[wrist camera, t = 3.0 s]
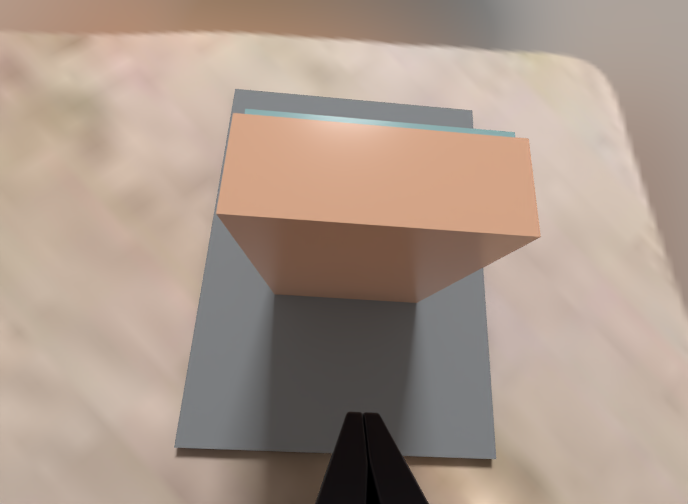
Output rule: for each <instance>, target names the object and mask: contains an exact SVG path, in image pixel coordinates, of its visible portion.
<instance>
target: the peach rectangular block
mask: <svg viewBox="0 0 688 504" xmlns="http://www.w3.org/2000/svg"><path fill="white" fill-rule="evenodd" d="M216 214H217V216H218V217H219V218H220V220H221V221H222V223H223V224H224V225H225V227H226V228H227V229H228V231H229V232H230V234H231V235H232V236H233V238H234V239H235V240H236V242H237V243H238V245H239V246H240V247H241V249H242V250H243V252H244V253H245V254H246V256H247V257H248V258H249V260H250V261H251V263H252V264H253V265H254V267H255V268H256V269H257V271H258V272H259V274H260V275H261V276H262V278H263V279H264V280H265V282H266V283H267V285H268V286H269V287H270V289H271V290H272V292H273V293H274V294H277V295H294V296H310V297H327V298H344V299H360V300H377V301H394V302H410V303H418V302H419V301H421V300H423V299H425V298H427V297H429V296H431V295H433V294H434V293H436V292H438V291H440V290H442V289H444V288H446V287H448V286H449V285H451V284H453V283H455V282H457V281H459V280H461V279H463V278H464V277H466V276H468V275H470V274H472V273H474V272H476V271H478V270H479V269H481V268H483V267H485V266H487V265H489V264H491V263H493V262H494V261H496V260H498V259H500V258H502V257H504V256H506V255H508V254H510V253H511V252H513V251H515V250H517V249H519V248H521V247H523V246H525V245H526V244H528V243H530V242H532V241H534V240H536V239H538V238H540V237H541V236H540V228H539V220H538V212H537V203H536V195H535V187H534V179H533V171H532V163H531V154H530V146H529V139H527V138H515V132H505V131H493V130H482V129H471V128H459V127H448V126H437V125H425V124H414V123H403V122H391V121H380V120H368V119H357V118H346V117H334V116H323V115H312V114H300V113H289V112H278V111H266V110H255V109H245V114H240V113H233V116H232V122H231V128H230V134H229V140H228V146H227V152H226V158H225V164H224V169H223V175H222V181H221V187H220V193H219V199H218V205H217V211H216Z"/></svg>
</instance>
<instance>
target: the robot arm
mask: <svg viewBox="0 0 688 504" xmlns="http://www.w3.org/2000/svg"><path fill="white" fill-rule="evenodd" d="M315 504H429V503H428V501H427V500H426V498H425V496H424V494H423V492H422V490H421V489H420V487H419V485H418V483H417V481H416V479H415V478H414V476H413V474H412V472H411V470H410V468H409V467H408V465H407V463H406V461H405V459H404V457H403V456H402V454H401V452H400V450H399V448H398V446H397V445H396V443H395V441H394V439H393V437H392V435H391V434H390V432H389V430H388V428H387V426H386V424H385V423H384V421H383V419H382V417H381V416H380V414H379V413H373V412H365V413H363V414H362V413H361V412H350V411H349V412H347V413H346V416H345V418H344V421H343V424H342V427H341V430H340V433H339V436H338V439H337V442H336V445H335V447H334V450H333V453H332V456H331V459H330V462H329V465H328V468H327V471H326V474H325V476H324V479H323V482H322V485H321V488H320V491H319V494H318V497H317V500H316V503H315Z"/></svg>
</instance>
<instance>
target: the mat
mask: <svg viewBox="0 0 688 504" xmlns="http://www.w3.org/2000/svg"><path fill="white" fill-rule="evenodd" d="M245 109H255V110H266V111H278V112H289V113H300V114H312V115H323V116H334V117H346V118H357V119H368V120H380V121H391V122H403V123H414V124H425V125H437V126H448V127H459V128H471V129H473V116H472V110H462V109H451V108H440V107H429V106H418V105H407V104H396V103H385V102H374V101H363V100H352V99H341V98H330V97H319V96H308V95H297V94H286V93H274V92H263V91H252V90H241V89H235V94H234V100H233V106H232V111H231V117H230V123H229V129H228V135H227V141H226V147H225V152H224V158H223V164H222V170H221V176H220V182H219V188H218V194H217V199H216V205H215V211H214V217H213V223H212V229H211V235H210V241H209V246H208V252H207V258H206V264H205V270H204V276H203V282H202V287H201V293H200V299H199V305H198V311H197V317H196V323H195V329H194V334H193V340H192V346H191V352H190V358H189V364H188V370H187V376H186V381H185V387H184V393H183V399H182V405H181V411H180V417H179V423H178V428H177V434H176V440H175V446H174V448H201V449H229V450H257V451H284V452H312V453H333V450H334V447H335V445H336V442H337V439H338V436H339V433H340V430H341V427H342V424H343V421H344V418H345V416H346V413H347V412H349V411H350V412H361V413H362V414H363V413H365V412H373V413H379V414H380V416H381V417H382V419H383V421H384V423H385V424H386V426H387V428H388V430H389V432H390V434H391V435H392V437H393V439H394V441H395V443H396V445H397V446H398V448H399V450H400V452H401V454H402V456H422V457H450V458H478V459H496V449H495V434H494V420H493V405H492V391H491V376H490V362H489V348H488V333H487V319H486V304H485V290H484V275H483V268H481V269H479V270H478V271H476V272H474V273H472V274H470V275H468V276H466V277H464V278H463V279H461V280H459V281H457V282H455V283H453V284H451V285H449V286H448V287H446V288H444V289H442V290H440V291H438V292H436V293H434V294H433V295H431V296H429V297H427V298H425V299H423V300H421V301H419V302H418V303H410V302H394V301H377V300H360V299H344V298H327V297H310V296H294V295H277V294H274V293H273V292H272V290H271V289H270V287H269V286H268V285H267V283H266V282H265V280H264V279H263V278H262V276H261V275H260V274H259V272H258V271H257V269H256V268H255V267H254V265H253V264H252V263H251V261H250V260H249V258H248V257H247V256H246V254H245V253H244V252H243V250H242V249H241V247H240V246H239V245H238V243H237V242H236V240H235V239H234V238H233V236H232V235H231V234H230V232H229V231H228V229H227V228H226V227H225V225H224V224H223V223H222V221H221V220H220V218H219V217H218V216H217V214H216V211H217V205H218V199H219V193H220V187H221V181H222V175H223V169H224V164H225V158H226V152H227V146H228V140H229V134H230V128H231V122H232V116H233V113H240V114H245Z"/></svg>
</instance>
